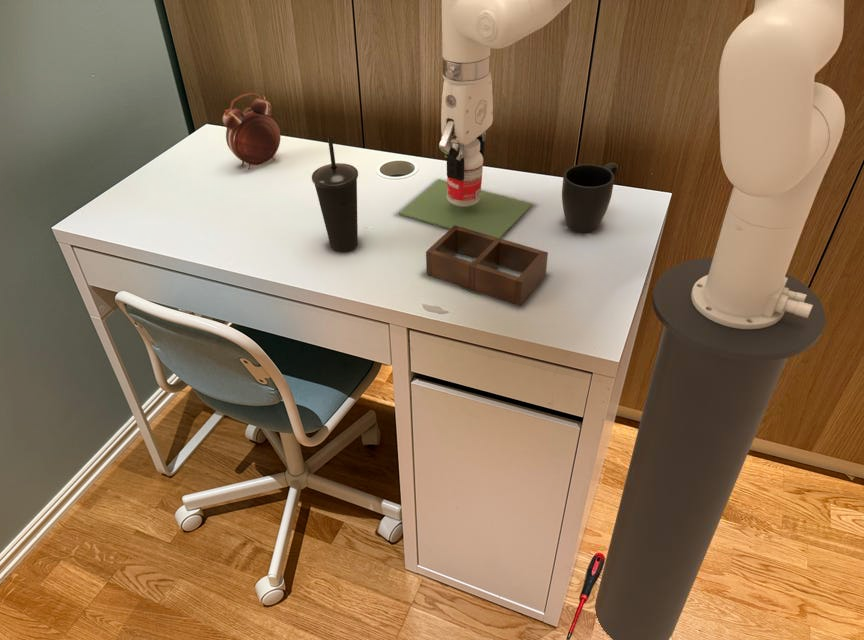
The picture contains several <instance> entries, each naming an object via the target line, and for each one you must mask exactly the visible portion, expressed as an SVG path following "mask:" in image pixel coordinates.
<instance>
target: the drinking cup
mask: <svg viewBox="0 0 864 640" xmlns="http://www.w3.org/2000/svg"><path fill="white" fill-rule="evenodd" d="M327 140H328V141H327V142H328V150H329V156H330V157H329V158H330V163H329V164H325V165H323V166H320V167H318V168H316V169H315V170H314V171H313V172H312V174H311V181H312V183H313V184H314V187H315V190H316V191H315V192H316V196H317V199H318V203H319V206H320V211H321V215H322V219H323V223H324V226H325V230H326V234H327V238H328V242H329V245H330V249H331V250H332V251H334V252H337V253H348V252H351V251H353V250H355V249H356V248H357V246H358V244H359V240H358V239H359V237H358V233H359V231H358V230H359V229H358V178H359V171H358V169H357V168H356V167H355V166H354V165H351V164H348V163H342V162H340V163H339V162H338V163H337V162H336V158H335V149H334V142H333V136H328V137H327Z"/></svg>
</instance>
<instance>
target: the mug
mask: <svg viewBox="0 0 864 640" xmlns="http://www.w3.org/2000/svg"><path fill="white" fill-rule="evenodd" d="M618 169H619V166H618V164H617V163H616V162H608V163H607V164H604V166H602V165H599V164H591V163H585V164H577V165H573V166H571V167H569V168H566V170H565V171H564V173H563V177H562V187H561V203H562V210H563V211H562V212H563V216H564V220H565V225H566V227H567V229H568V230H569V231H571V232H574V233H578V234H591V233H594V232H596V231H597V230H598V229H599V227H600V224H601V222H602V221H603V218H604V217H605V214H606V213H607V210H608V208H609V206H610V203H611V200H612V195H613V190H614V183H615V180H616V177H617V174H618Z"/></svg>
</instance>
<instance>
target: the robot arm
mask: <svg viewBox="0 0 864 640" xmlns="http://www.w3.org/2000/svg"><path fill="white" fill-rule="evenodd" d="M572 1H573V0H441V51H442V53H441V55H442V56H441V57H442V58H441V59H442V60H441V61H442V79H443V80H444V81H443V84H442V85H443V86H442V94H441V108H440V109H441V110H440V111H441V112H440V130H441V131H440V132H441V139H440V141H439V144H438V148H439V149H440V151H441V152H442V154H443V155H444V158H446V178H447V177H449V178H452V179H456V180H460V181H462V180H463V179H464V158H462V155H463V150H464V145H467V144H469V143H471V142H472V141H473V140H475V139H478V140H479V141H480V151H479V152H480V153H481V154H482V156H483V163H484V162H485V145H486V144H485V141H486V139H487V133H486V132H487V130H488V129H489V128H490V127H491V126H492V125H493V123H494V97H493V96H494V95H493V94H494V93H493V80H492V74H491V49H495V50H499V49H504V48H507V47H509V46H511V45H514V44H515V43H517V42H519V41H520V40H522V39H524V38H525V37H527V36H529V35H531V34H532V33H534V32H537V31H538V30H540V29H542V28H543V27H545V26H546V25H548V24H549V23H550V22H552V20H553V19H555V18H556V17H557V16H558V15H559V14H560V13H561V12H562V11H563V10H564V9H565V8H566V7H567V6H568V5H569V4H570V3H571V2H572ZM844 20H845V0H754V7H753V12H752V13H751V14H750V15H749V16H747V17H746V18H745V19H744V20H743V21H741V23H739V25H738V26H736V27H735V29H734V30H733V32H732V33H731V34H730V36H729V38H728V39H727V41H726V43H725V46H724V48H723V51H722V54H721V57H720V63H719V70H718V106H719V107H718V108H719V109H718V112H719V150H720V160H721V164H722V168H723V169H722V170H723V171H724V174H725V176H726V178H727V179H728V181H729V182H730V183H731V185H733V188H732V191H731V194H730V197H729V202H728V203H727V208H726V210H725V211H726V212H725V215H724V219H723V221H722V225H721V229H720V232H719V236H718V240H717V242H716V245H715V246H716V247H715V251H714V253H713V256H712V257H713V260H712V264H711V267H710V271H709V274H708V275H707V276H704V277H702V278H701V279H699V280H698V281H697V282H696V283H695V284H694V286H693V289H692V293H691V300H692V302H693V305H694V306H695V308H696V309H697V310H698V311H699V312H700V313H701V314H702V315H704V316H705V317H707V318H708V319H710V320H712V321H714V322H716V323H718V324H721V325H724V326H728V327H732V328H737V329H761V328H765V327H769V326H771V325H773V324H775V323H777V322H778V321H779V320H780V319H781V318H782V317H783V315H784V312H785V311H786V312H789V313H793V314H794V315H798V316H801V317H805V318H808V316H809V314H810V311H811V309H812V306H813V305H811V304H807V303H804V300H805V298H806V294H802V293H798V292H793V291H789V288H786V287H785V285H786V282H787V279H788V278H787V277H785V275H786V273H787V272H788V270H789V267H790V265H791V262H792V259H793V256H794V254H795V251H796V249H797V245H798V243H799V240H800V238H801V235H802V232H803V230H804V227H805V224H806V221H807V220H808V217H809V215H810V212H811V209H812V208H813V207H812V206H813V204H814V201H815V198H816V197H817V193H818V192H819V189H820V187H821V184H822V182H823V179H824V177H825V175H826V173H827V170H828V168H829V166H830V164H831V162H832V161H833V160H832V159H834V156H835V153H836V151H837V149H838V146H839V144H840V141H841V139H842V136H843V133H844V128H845V123H846V111H845V107H844V104H843V101H842V99H841V97H840V96H839V94H838V93H836V91H835V90H834V89H832V88H831V87H830V86H828V85H825V84H823V83H820V82H817V81H815V78H816V74H817V73H819V71H821V69H823V68H824V67H825V66H826V65H827V64H828V62H829V61H830V60H831V59H832V58H833V56H834V55H835V54H836V53H837V51H838V49H839V47H840V45H841V42H842V40H843V35H844V24H845V23H844V22H845V21H844ZM454 136H455V137H456V138H457V139H456V138H454ZM453 143H455V144H458V150H457V151H456V150H455V149H454V148H453Z"/></svg>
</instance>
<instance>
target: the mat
mask: <svg viewBox="0 0 864 640" xmlns="http://www.w3.org/2000/svg"><path fill="white" fill-rule="evenodd" d="M532 207H533V204H532V203H529V202H526V201H523V200H518V199H515V198H511V197H507V196H504V195H499V194H495V193H492V192H487V191H484V190H481V196H480V200H479V201H478V202H477V203H476V204H474V205H471V206H465V207H462V206H456V205H453V204H452V203H450V202H449V201H448V199H447V180H446V181H445V180H442V179H437V180H436V181H435V182H434V183H433V184H432V185H430V187H428V188H427V189H426V190H425V191H423V192H422V193H421V194H420V195H419V196H418V197H416V198H415V199H414V200H412V201H411V202H410V203H409V204H408V205H406V206H405V207H404V208H403V209H402V210H400V212H398V214H399V215H400V216H403V217H406V218H410V219H413V220H416V221H420V222H424V223H427V224H430V225H433V226H435V227H436V226H437V227H440V228H443V229H447V230H450V229H451V228H452V227H453V226H454V225H456V226H459V227H463V228H466V229H470V230H473V231H476V232H480V233H483V234H487V235H490V236H494V237H497V238H500V239H502V237H503V236H504V235H505V234H506V233H507V232H509V230H510V229H511V228H512V227H513V226H514V225H515V224H516V223H517V222H518V221H519V220H520V219H521V218H522V217H523V215H525V214H526V212H528V211H529V210H530V209H531V208H532Z"/></svg>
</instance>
